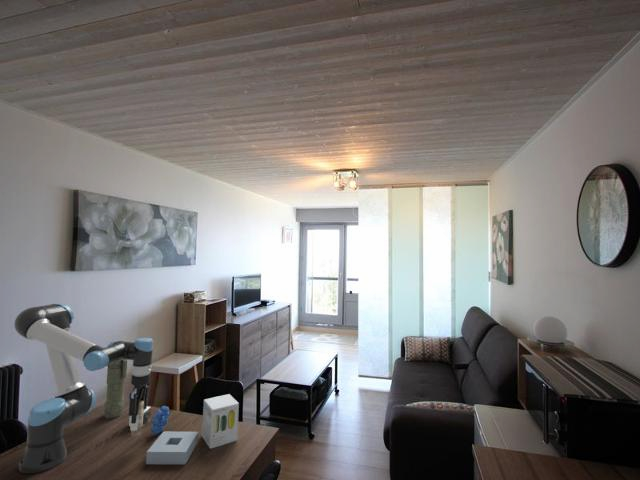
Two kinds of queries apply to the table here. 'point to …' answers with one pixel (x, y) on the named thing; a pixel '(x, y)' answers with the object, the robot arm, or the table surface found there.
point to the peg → (140, 412)
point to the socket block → (172, 448)
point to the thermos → (115, 389)
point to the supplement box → (220, 420)
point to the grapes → (160, 420)
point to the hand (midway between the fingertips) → (136, 426)
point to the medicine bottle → (144, 416)
